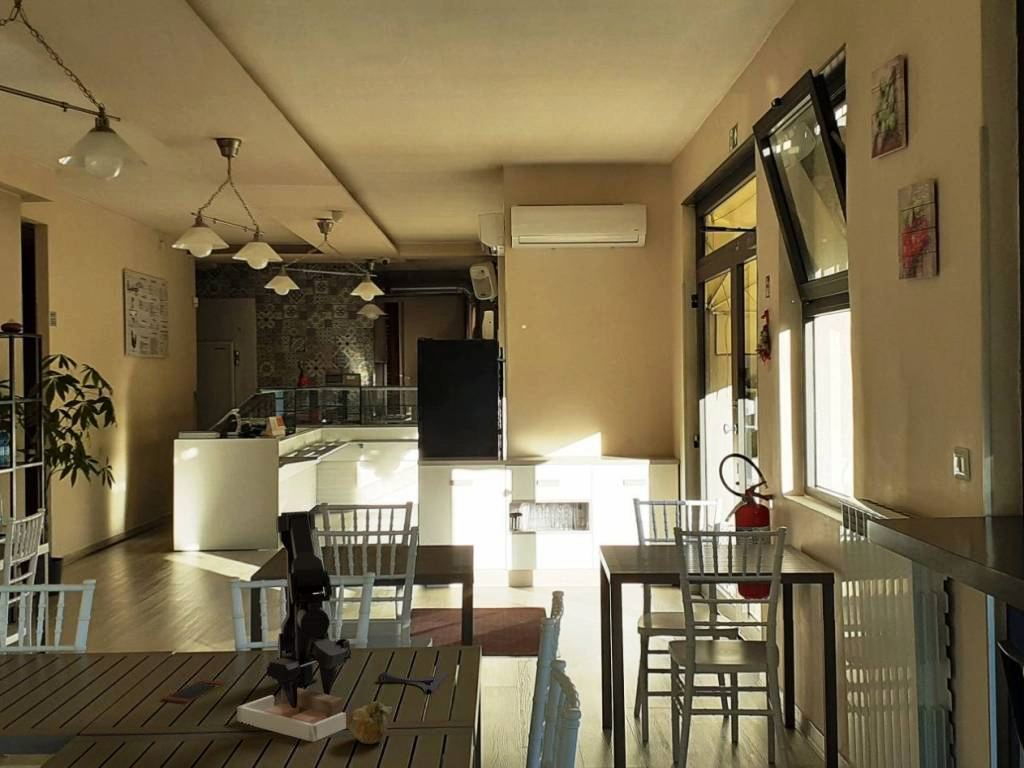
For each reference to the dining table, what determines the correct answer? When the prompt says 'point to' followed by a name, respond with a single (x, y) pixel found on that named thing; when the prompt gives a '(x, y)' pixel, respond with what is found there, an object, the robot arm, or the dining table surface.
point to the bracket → (415, 680)
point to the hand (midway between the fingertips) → (310, 701)
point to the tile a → (283, 710)
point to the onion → (369, 722)
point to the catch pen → (288, 721)
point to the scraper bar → (316, 702)
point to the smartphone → (193, 691)
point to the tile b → (310, 716)
